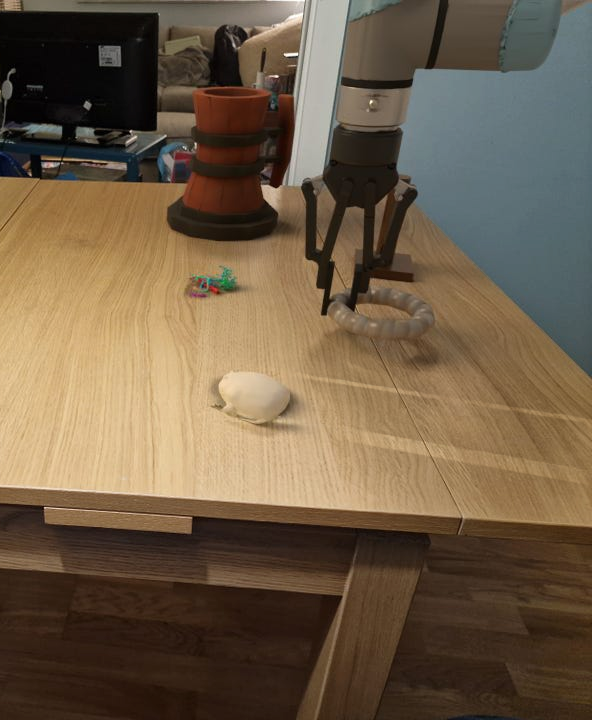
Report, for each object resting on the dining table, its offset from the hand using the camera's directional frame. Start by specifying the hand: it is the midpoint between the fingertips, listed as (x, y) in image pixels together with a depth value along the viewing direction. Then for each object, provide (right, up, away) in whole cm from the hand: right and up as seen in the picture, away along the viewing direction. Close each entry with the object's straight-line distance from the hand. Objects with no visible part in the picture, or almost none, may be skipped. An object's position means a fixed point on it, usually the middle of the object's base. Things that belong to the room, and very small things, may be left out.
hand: (337, 312), depth 87 cm
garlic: (-14, -12, -11) cm, 21 cm away
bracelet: (+5, 0, -2) cm, 5 cm away
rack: (+16, +9, +25) cm, 31 cm away
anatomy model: (-15, +4, +16) cm, 22 cm away
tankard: (-6, +21, +47) cm, 52 cm away
